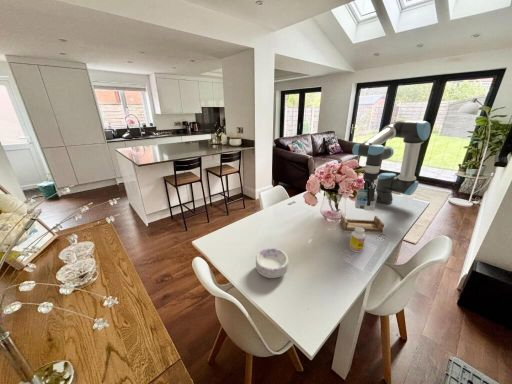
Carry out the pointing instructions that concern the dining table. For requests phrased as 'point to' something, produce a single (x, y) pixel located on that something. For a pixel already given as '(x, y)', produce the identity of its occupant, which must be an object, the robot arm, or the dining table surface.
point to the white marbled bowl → (272, 262)
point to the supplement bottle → (357, 239)
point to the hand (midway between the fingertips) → (364, 207)
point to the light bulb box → (364, 199)
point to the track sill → (362, 224)
